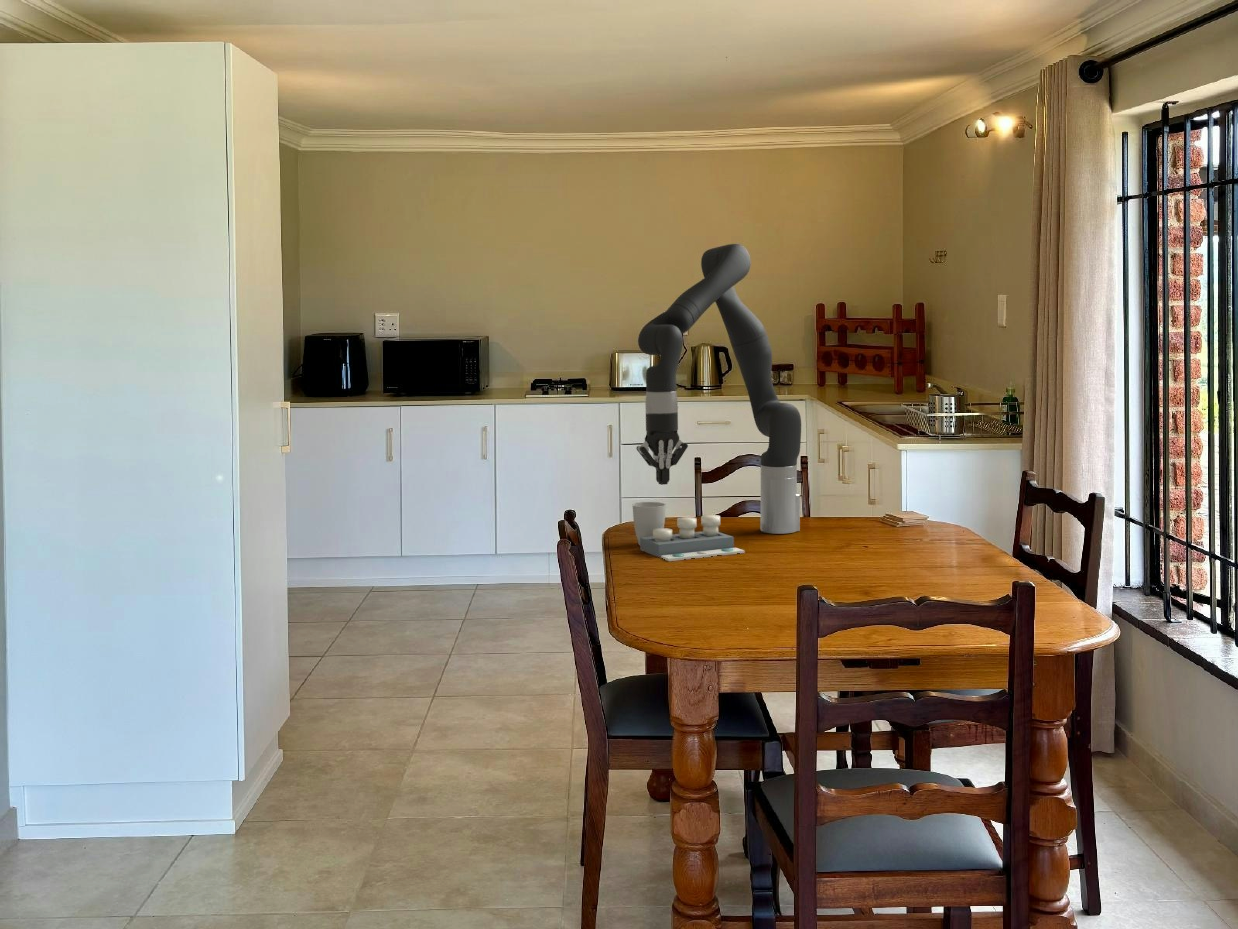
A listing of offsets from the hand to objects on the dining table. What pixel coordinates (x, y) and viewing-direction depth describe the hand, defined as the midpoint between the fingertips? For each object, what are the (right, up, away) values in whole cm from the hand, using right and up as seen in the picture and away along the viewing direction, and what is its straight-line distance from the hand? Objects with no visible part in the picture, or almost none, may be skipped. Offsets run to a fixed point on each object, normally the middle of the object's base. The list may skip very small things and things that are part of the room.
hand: (662, 484), depth 277 cm
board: (+6, -16, +5) cm, 18 cm away
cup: (-3, -15, +12) cm, 19 cm away
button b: (+6, -13, +4) cm, 15 cm away
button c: (0, -15, +2) cm, 16 cm away
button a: (+12, -12, +7) cm, 19 cm away
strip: (+9, -17, -2) cm, 19 cm away
